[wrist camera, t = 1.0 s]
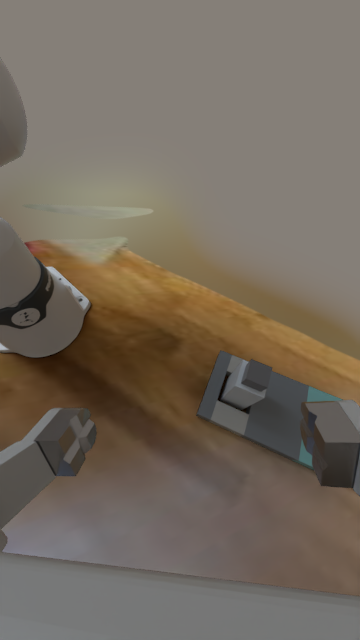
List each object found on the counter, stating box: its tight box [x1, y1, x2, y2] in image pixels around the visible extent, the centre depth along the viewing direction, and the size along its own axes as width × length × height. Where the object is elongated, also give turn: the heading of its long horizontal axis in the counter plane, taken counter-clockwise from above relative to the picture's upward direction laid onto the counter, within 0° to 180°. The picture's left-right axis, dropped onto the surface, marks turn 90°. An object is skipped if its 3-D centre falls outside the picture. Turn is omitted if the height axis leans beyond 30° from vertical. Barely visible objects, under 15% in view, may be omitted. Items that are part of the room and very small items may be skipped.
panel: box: [196, 351, 342, 470], centre depth 38 cm, size 24×12×2 cm, turn 67°
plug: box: [220, 359, 272, 410], centre depth 34 cm, size 4×4×13 cm
